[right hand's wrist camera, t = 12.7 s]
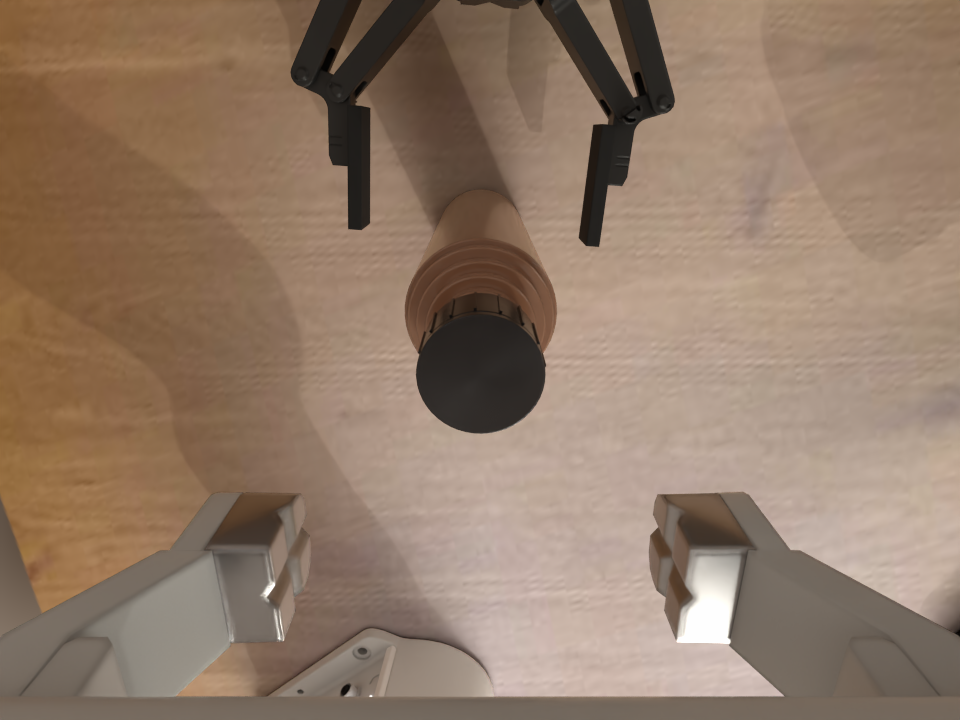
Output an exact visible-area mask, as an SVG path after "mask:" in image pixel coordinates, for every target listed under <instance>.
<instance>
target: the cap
mask: <svg viewBox="0 0 960 720" xmlns="http://www.w3.org/2000/svg"><path fill="white" fill-rule="evenodd" d="M418 353H419V354H420V355H419V358H418V362H417V369H416V379H417V386H418V389H419V393H420V395H421V397H422V399H423V401H424V403H425V404H426V406H427V407H428V409H429V410H430V411H431V412H432V413H433V414H434V415H435V416H436V417H437V418H438V419H439V420H441V421H442V422H443V423H445V424H447V425H449V426H450V427H453V428H455V429H458V430H461V431H464V432H470V433H481V434H482V433H492V432H497V431H501V430H504V429H507V428H509V427H511V426H513V425H515V424H516V423H518V422H520V421H521V420H522V419H523V418H525V417H526V416H527V415H528V414H529V413H530V412H531V411H532V409H533V408H534V407H535V405H536V404H537V402H538V400H539V399H540V396H541V394H542V391H543V388H544V383H545V367H546V363H545V360H544V356H543V352H542V349H541V345H540V341H539V337H538V334H537V330H536V327H535V324H534V322H533V323H532V322H531V320H530V319H529V317H528V316H527V314H526V313H525V312H524V311H523V310H522V308H521V306H520V305H519V306H517V305H516V304H515V303H513V302H512V301H510V300H508V299H506V298H504V297H501V295H500V294H498V295H494V294H489V293H477V292H474V293H473V294H468V295H463V296H461V297H458V298H456V299H454V298H452V299H451V301H450V302H448V303H447V304H445V305H444V306H443V307H442V308H441V309H440V310H438V312H437V313H436V312H434V314H433V318H432V320H431V321H430V323H429V325H428V327H427V330H426V332H425V331H424V333H423V336H422V340H421V343H420V347H419V350H418Z"/></svg>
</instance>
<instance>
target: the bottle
mask: <svg viewBox="0 0 960 720" xmlns="http://www.w3.org/2000/svg"><path fill="white" fill-rule="evenodd" d="M474 292H477V293H489V294H494V295H498V294H500V295H501V297H504V298H506V299H508V300H510V301H512V302H513V303H515V304H516V305H517V306H519V305H520V306H521V308H522V310H523V311H524V312H525V313H526V314H527V316H528V317H529V319H530V320H531V322H532V323H533V322H534V324H535V327H536V330H537V334H538V337H539V341H540V345H541V349H542V352H543V353H544V351H545V350H546V348H547V346H548V344H549V342H550V340H551V338H552V335H553V333H554V329H555V324H556V317H557V305H556V298H555V293H554V290H553V287H552V284H551V282H550V280H549V278H548V276H547V274H546V271H545V269H544V267H543V265H542V263H541V261H540V258H539V256H538V254H537V252H536V250H535V248H534V246H533V243H532V241H531V239H530V237H529V235H528V233H527V230H526V228H525V226H524V224H523V222H522V220H521V218H520V215H519V213H518V211H517V210H516V208H515V207H514V205H513V204H512V203H511V202H510V201H509V200H508V199H507V198H506V197H504V196H503V195H501V194H499V193H497V192H494V191H491V190H484V189H478V190H471V191H468V192H465V193H463V194H461V195H459V196H458V197H456V198H455V199H454V200H453V201H451V202H450V204H449V205H448V206H447V207H446V209H445V211H444V212H443V215H442V217H441V219H440V221H439V223H438V225H437V227H436V230H435V232H434V234H433V236H432V238H431V240H430V243H429V245H428V247H427V249H426V251H425V253H424V255H423V258H422V260H421V262H420V264H419V266H418V268H417V271H416V273H415V275H414V277H413V279H412V281H411V284H410V286H409V289H408V292H407V296H406V302H405V320H406V327H407V330H408V334H409V336H410V339H411V341H412V343H413V345H414V347H415V348H416V350H417V352H418V350H419V347H420V343H421V340H422V336H423V333H424V331H425V332H426V330H427V327H428V325H429V323H430V321H431V320H432V318H433V314H434V312H436V313H437V312H438V310H440V309H441V308H442V307H443V306H444V305H445V304H447V303H448V302H450V301H451V299H452V298H454V299H456V298H458V297H461V296H463V295H468V294H473V293H474ZM419 355H420V354H419Z"/></svg>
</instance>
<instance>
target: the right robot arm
mask: <svg viewBox="0 0 960 720" xmlns="http://www.w3.org/2000/svg"><path fill="white" fill-rule="evenodd" d="M306 516H307V511H306V505H305V499H304V497H303V496H302V495H301V494H297V493H248V492H246V493H243V492H217V493H215V494H212V495H211V496H210V497H209V498H208V499H207V501H206V502H205V503H204V505H203V506H202V507H201V509H200V510H199V511H198V513H197V514H196V515H195V517H194V518H193V519H192V521H191V522H190V523H189V525H188V526H187V527H186V529H185V530H184V531H183V533H182V534H181V535H180V537H179V538H178V539H177V541H176V542H175V543H174V545H173V546H172V547H171V549H170V550H162V551H158V552H156V553H154V554H153V555H151V556H149V557H147V558H145V559H143V560H141V561H140V562H138V563H136V564H134V565H132V566H130V567H128V568H126V569H125V570H123V571H121V572H119V573H117V574H115V575H113V576H111V577H110V578H108V579H106V580H104V581H102V582H100V583H98V584H97V585H95V586H93V587H91V588H89V589H87V590H85V591H83V592H82V593H80V594H78V595H76V596H74V597H72V598H70V599H69V600H67V601H65V602H63V603H61V604H59V605H57V606H55V607H54V608H52V609H50V610H48V611H46V612H44V613H42V614H40V615H39V616H37V617H35V618H33V619H31V620H29V621H27V622H26V623H24V624H22V625H20V626H18V627H16V628H14V629H12V630H11V631H9V632H7V633H5V634H3V635H2V636H1V637H0V720H960V637H959V636H958V635H956V634H955V633H953V632H951V631H949V630H947V629H945V628H943V627H942V626H940V625H938V624H936V623H934V622H932V621H930V620H928V619H927V618H925V617H923V616H921V615H919V614H917V613H915V612H914V611H912V610H910V609H908V608H906V607H904V606H902V605H901V604H899V603H897V602H895V601H893V600H891V599H889V598H887V597H886V596H884V595H882V594H880V593H878V592H876V591H874V590H873V589H871V588H869V587H867V586H865V585H863V584H861V583H860V582H858V581H856V580H854V579H852V578H850V577H848V576H846V575H845V574H843V573H841V572H839V571H837V570H835V569H833V568H832V567H830V566H828V565H826V564H824V563H822V562H820V561H819V560H817V559H815V558H813V557H811V556H809V555H807V554H806V553H804V552H802V551H798V550H790V549H789V547H788V546H787V545H786V543H785V542H784V541H783V539H782V538H781V537H780V535H779V534H778V533H777V532H776V530H775V529H774V528H773V526H772V525H771V524H770V522H769V521H768V520H767V518H766V517H765V516H764V514H763V513H762V512H761V510H760V509H759V508H758V506H757V505H756V504H755V502H754V501H753V500H752V498H751V497H750V496H749V495H748V494H746V493H744V492H726V493H705V494H658V495H657V497H656V500H655V504H654V511H653V516H654V518H655V520H656V522H657V525H658V528H657V529H656V530H655V531H654V532H653V533H652V534H651V535H650V545H649V562H650V570H651V575H652V579H653V582H654V585H655V587H656V590H657V591H658V592H659V593H661V594H662V595H663V596H665V597H666V601H665V608H664V611H665V614H666V616H667V619H668V621H669V624H670V626H671V629H672V631H673V634H674V636H675V639H676V641H677V642H706V643H730V644H729V646H730V647H731V648H732V649H734V650H735V651H736V652H737V653H738V654H739V655H740V656H741V657H742V658H743V659H745V660H746V661H747V662H748V663H749V664H750V665H751V666H752V667H753V668H754V669H755V670H757V671H758V672H759V673H760V674H761V675H762V676H763V677H764V678H765V679H766V680H768V681H769V682H770V683H771V684H772V685H773V686H774V687H775V688H776V689H777V690H779V691H780V692H781V693H782V694H783V695H784V696H785V697H494V692H493V687H492V684H491V681H490V679H489V677H488V675H487V673H486V672H485V670H484V669H483V668H482V667H481V665H480V664H479V663H478V662H476V661H475V660H474V659H473V658H472V657H470V656H469V655H467V654H466V653H464V652H463V651H461V650H459V649H457V648H454V647H452V646H449V645H447V644H443V643H440V642H435V641H430V640H421V639H408V638H402V637H399V636H396V635H394V634H391V633H389V632H386V631H383V630H380V629H375V628H369V629H365V630H363V631H362V632H360V633H359V634H357V635H356V636H355V637H353V638H352V639H350V640H349V641H347V642H346V643H344V644H343V645H341V646H340V647H338V648H337V649H336V650H334V651H333V652H331V653H330V654H328V655H327V656H325V657H324V658H322V659H321V660H319V661H318V662H317V663H315V664H314V665H312V666H311V667H309V668H308V669H306V670H305V671H303V672H302V673H300V674H299V675H298V676H296V677H295V678H293V679H292V680H290V681H289V682H287V683H286V684H284V685H283V686H281V687H280V688H279V689H277V690H276V691H274V692H273V693H271V694H270V695H268V696H267V697H175V696H176V695H177V694H178V693H179V692H181V691H182V690H183V689H184V688H185V687H186V686H187V685H188V684H189V683H190V682H192V681H193V680H194V679H195V678H196V677H197V676H198V675H199V674H200V673H201V672H203V671H204V670H205V669H206V668H207V667H208V666H209V665H210V664H211V663H212V662H214V661H215V660H216V659H217V658H218V657H219V656H220V655H221V654H222V653H224V652H225V651H226V650H227V649H228V648H229V647H230V643H253V642H283V641H284V639H285V636H286V634H287V631H288V629H289V626H290V624H291V621H292V619H293V616H294V614H295V611H296V608H295V601H294V597H295V596H297V595H298V594H299V593H301V592H302V591H303V590H304V587H305V585H306V582H307V579H308V575H309V569H310V563H311V543H310V535H309V534H308V533H307V532H306V531H305V530H304V529H303V528H302V525H303V522H304V520H305V518H306Z"/></svg>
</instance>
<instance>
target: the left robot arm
mask: <svg viewBox="0 0 960 720" xmlns="http://www.w3.org/2000/svg"><path fill="white" fill-rule="evenodd" d="M361 1H362V0H320V2H319V5H318V7H317V9H316V12H315V14H314V16H313V19H312V21H311V23H310V26H309V28H308V30H307V33H306V35H305V37H304V40H303V42H302V44H301V47H300V49H299V51H298V54H297V56H296V58H295V61H294V63H293V66H292V68H291V77H292V79H293V81H294V82H295V83H296V84H297V85H299V86H302V87H304V88H306V89H308V90H310V91H313V92H315V93H317V94H319V95H320V96H322V97H323V98H324V100H325V101H326V103H327V106H328V128H329V156H330V159H331V161H332V164H333V165H340V166H348V229H354V230H362V229H363V228H365V227H366V226H367V225H368V224H370V108H368V107H364V106H355V103H357V101H356V99H357V98H358V97H359V95H360V94H361V93H362V92H363V91H364V89H365V88H366V87H367V86H368V85H369V83H370V82H371V81H372V80H373V78H374V77H375V76H376V75H377V74H378V72H379V71H380V70H381V69H382V68H383V66H384V65H385V64H386V63H387V61H388V60H389V59H390V58H391V57H392V55H393V54H394V53H395V52H396V51H397V49H398V48H399V47H400V46H401V44H402V43H403V42H404V41H405V40H406V38H407V37H408V36H409V35H410V34H411V32H412V31H413V30H414V29H415V27H416V26H417V25H418V24H419V23H420V21H421V20H422V19H423V18H424V17H425V15H426V14H427V13H428V12H429V11H431V10H432V9H433V8H434V7H435V6H436V5H437V3H438V2H439V1H440V0H393V1H392V2H391V3H390V5H389V6H388V7H387V8H386V10H385V11H384V12H383V13H382V15H381V16H380V17H379V18H378V20H377V21H376V22H375V23H374V25H373V26H372V27H371V28H370V30H369V31H368V32H367V33H366V35H365V36H364V37H363V38H362V40H361V41H360V42H359V43H358V45H357V46H356V47H355V48H354V50H353V51H352V52H351V53H350V55H349V56H348V57H347V58H346V60H345V61H344V62H343V63H342V65H341V66H340V67H339V68H338V70H337V71H336V72H335V73H334V75H333V74H331V73H329V72H330V70H331V67H332V65H333V63H334V61H335V59H336V56H337V54H338V52H339V50H340V47H341V45H342V43H343V41H344V38H345V36H346V34H347V32H348V30H349V27H350V25H351V23H352V21H353V18H354V16H355V14H356V12H357V9H358V7H359V5H360V3H361ZM458 1H460V3H461V4H463V5H479V4H483V3H488V2H491V3H493V4H496V5H499V6H501V7H504V8H513V9H518V8H519V6H522V5H525V4H527V3H529V2H530V1H532V0H458ZM534 1H535V2H536V4H537V6H538V7H539V9H540V11H541V12H542V14H543V15H544V17H545V18H546V19H547V20H548V21H549V22H550V24H551V25H552V27H553V29H554V30H555V32H556V34H557V35H558V37H559V39H560V40H561V42H562V44H563V45H564V47H565V48H566V50H567V52H568V53H569V55H570V57H571V58H572V60H573V62H574V63H575V65H576V67H577V68H578V70H579V72H580V73H581V75H582V76H583V78H584V80H585V81H586V83H587V85H588V86H589V88H590V90H591V91H592V93H593V95H594V96H595V98H596V100H597V101H598V103H599V104H600V106H601V108H602V109H603V111H604V113H605V114H606V116H607V118H608V119H609V120H608V125H606V124H598V125H593V132H592V140H591V147H590V155H589V163H588V171H587V178H586V186H585V194H584V201H583V209H582V217H581V225H580V232H579V239H580V240H581V241H582V242H583V243H584V244H585V245H586V246H595V247H599V243H600V236H601V229H602V222H603V215H604V208H605V201H606V194H607V187H608V185H614V186H622V185H623V184H624V182H625V180H626V178H627V174H628V168H629V167H628V166H629V161H630V155H631V148H632V142H633V135H634V130H635V128H636V126H637V125H638V124H639V123H640V122H641V121H642V120H644V119H647V118H650V117H654V116H657V115H660V114H665V113H667V112H669V111H670V110H671V109H672V108H673V106H674V102H675V99H674V94H673V90H672V87H671V83H670V79H669V76H668V72H667V68H666V64H665V61H664V57H663V53H662V50H661V46H660V42H659V39H658V35H657V31H656V28H655V24H654V20H653V16H652V13H651V9H650V5H649V2H648V0H610V3H611V7H612V10H613V14H614V17H615V21H616V24H617V27H618V31H619V34H620V38H621V41H622V45H623V48H624V51H625V55H626V58H627V62H628V65H629V69H630V72H631V76H632V79H633V82H634V86H635V89H636V93H637V97H634V98H633V96H632V95H631V93H630V91H629V90H628V88H627V86H626V84H625V83H624V81H623V79H622V78H621V76H620V74H619V73H618V71H617V69H616V67H615V66H614V64H613V62H612V61H611V59H610V57H609V55H608V54H607V52H606V50H605V49H604V47H603V45H602V44H601V42H600V40H599V38H598V37H597V35H596V33H595V32H594V30H593V28H592V26H591V25H590V23H589V21H588V20H587V18H586V16H585V15H584V13H583V11H582V9H581V8H580V6H579V4H578V3H577V1H576V0H534Z"/></svg>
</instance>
